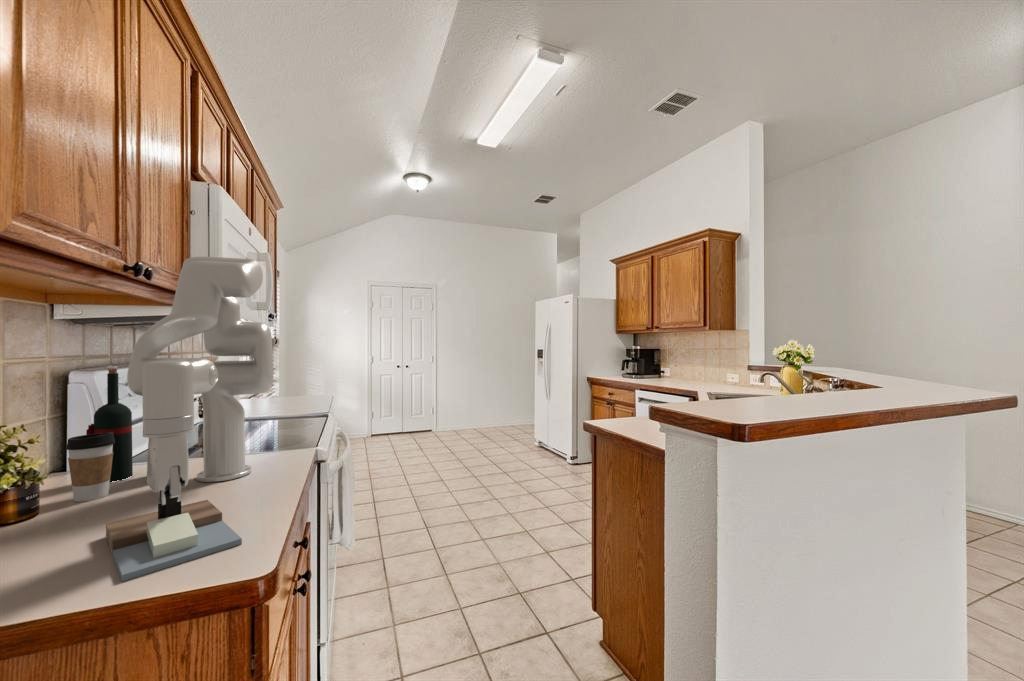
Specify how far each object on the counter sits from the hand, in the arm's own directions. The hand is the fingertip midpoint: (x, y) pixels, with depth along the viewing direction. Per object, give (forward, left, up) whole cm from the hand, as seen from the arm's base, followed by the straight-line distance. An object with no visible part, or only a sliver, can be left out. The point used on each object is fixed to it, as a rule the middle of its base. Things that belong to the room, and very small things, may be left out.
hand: (169, 523), depth 80 cm
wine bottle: (-57, -4, -3) cm, 57 cm away
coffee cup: (-42, -8, -3) cm, 42 cm away
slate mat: (+8, 0, -3) cm, 8 cm away
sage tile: (+6, -1, -1) cm, 6 cm away
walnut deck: (-4, 0, -3) cm, 5 cm away
